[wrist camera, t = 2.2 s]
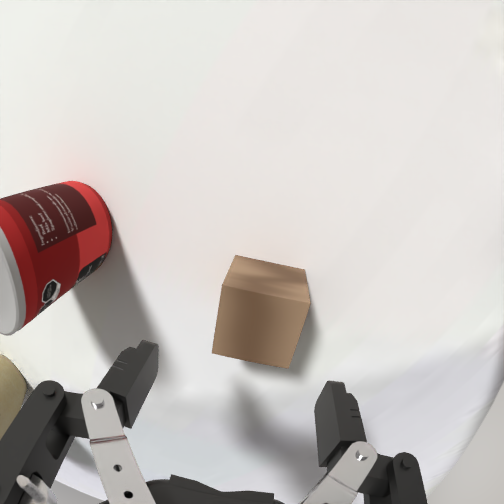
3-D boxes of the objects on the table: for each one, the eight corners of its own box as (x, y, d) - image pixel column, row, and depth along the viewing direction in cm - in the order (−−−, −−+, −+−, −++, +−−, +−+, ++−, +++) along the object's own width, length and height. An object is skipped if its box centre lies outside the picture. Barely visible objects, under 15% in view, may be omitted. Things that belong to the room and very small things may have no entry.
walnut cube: (304, 269, 21) (310, 303, 16) (288, 326, 22) (288, 368, 18) (235, 254, 21) (222, 284, 16) (225, 313, 22) (211, 353, 18)
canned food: (58, 268, 23) (-24, 324, 13) (45, 183, 20) (-53, 213, 10) (122, 273, 22) (37, 350, 12) (110, 175, 20) (-3, 204, 9)
